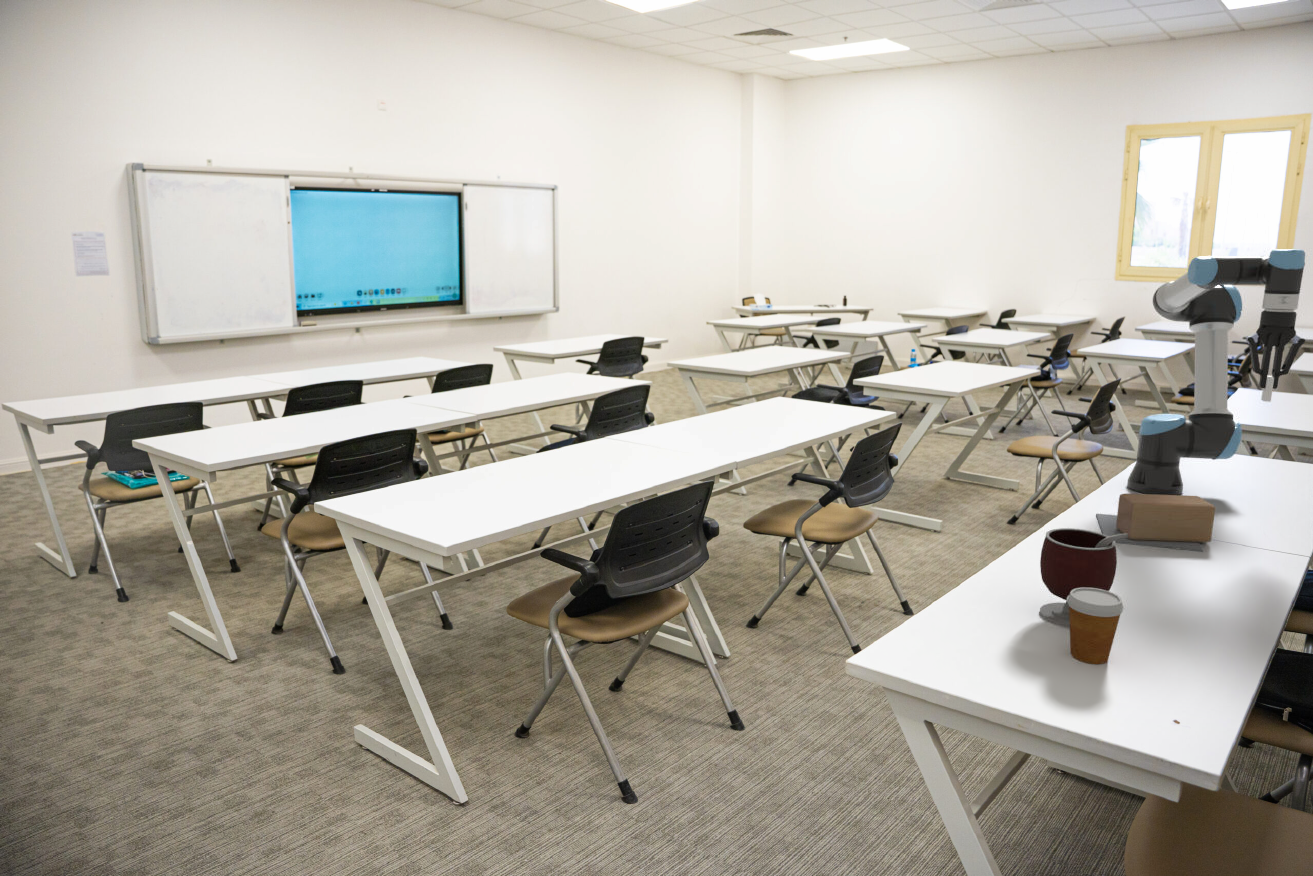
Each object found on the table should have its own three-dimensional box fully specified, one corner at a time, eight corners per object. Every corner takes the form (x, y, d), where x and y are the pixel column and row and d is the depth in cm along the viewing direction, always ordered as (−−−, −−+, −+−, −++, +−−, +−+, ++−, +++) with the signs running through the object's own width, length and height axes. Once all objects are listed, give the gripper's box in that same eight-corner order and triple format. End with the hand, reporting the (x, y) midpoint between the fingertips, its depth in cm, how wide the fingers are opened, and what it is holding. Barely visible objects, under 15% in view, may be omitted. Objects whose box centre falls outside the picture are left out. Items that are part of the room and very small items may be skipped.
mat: (1096, 515, 250) (1096, 513, 250) (1185, 523, 242) (1185, 521, 242) (1104, 541, 228) (1105, 539, 228) (1203, 551, 221) (1203, 549, 220)
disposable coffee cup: (1051, 646, 169) (1057, 587, 167) (1099, 644, 170) (1105, 585, 167) (1078, 669, 160) (1085, 607, 157) (1129, 667, 161) (1136, 605, 158)
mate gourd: (1025, 618, 182) (1033, 525, 178) (1049, 598, 192) (1058, 510, 188) (1105, 640, 172) (1117, 542, 167) (1127, 618, 182) (1138, 525, 177)
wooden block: (1199, 495, 232) (1118, 492, 235) (1217, 506, 223) (1133, 503, 225) (1194, 531, 234) (1114, 528, 237) (1212, 543, 225) (1128, 540, 227)
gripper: (1253, 310, 227) (1240, 401, 232) (1314, 312, 223) (1299, 404, 228) (1246, 308, 234) (1233, 396, 239) (1304, 309, 229) (1291, 399, 234)
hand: (1265, 400), depth 233 cm, fingers closed
